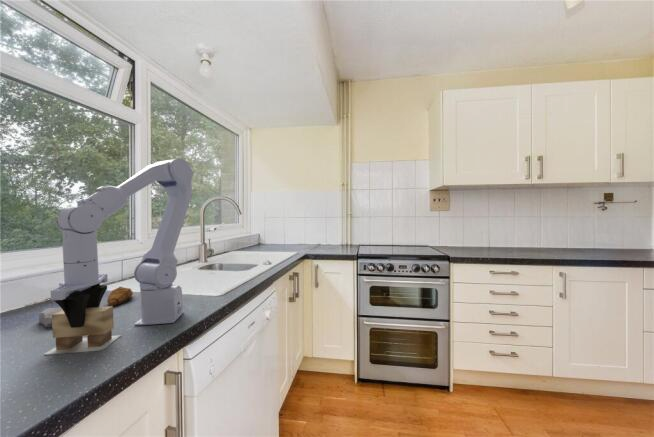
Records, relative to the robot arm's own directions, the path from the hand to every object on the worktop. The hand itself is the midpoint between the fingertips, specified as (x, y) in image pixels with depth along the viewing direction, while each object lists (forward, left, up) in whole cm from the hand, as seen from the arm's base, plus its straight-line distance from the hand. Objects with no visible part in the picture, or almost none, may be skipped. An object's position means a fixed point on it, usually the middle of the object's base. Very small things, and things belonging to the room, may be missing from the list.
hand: (84, 322), depth 63 cm
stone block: (+15, -18, -5) cm, 24 cm away
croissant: (+10, -33, -5) cm, 35 cm away
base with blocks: (0, 0, -5) cm, 5 cm away
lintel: (0, 0, -2) cm, 2 cm away
